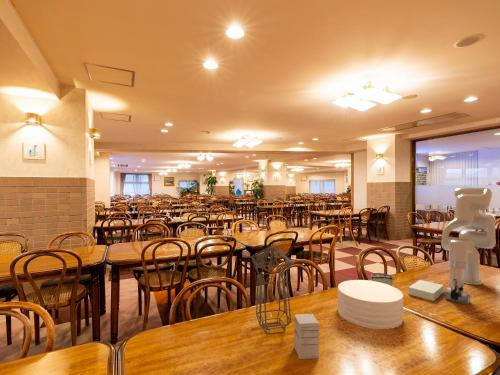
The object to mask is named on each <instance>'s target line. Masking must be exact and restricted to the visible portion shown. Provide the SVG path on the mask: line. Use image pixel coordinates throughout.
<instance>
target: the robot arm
mask: <svg viewBox="0 0 500 375" xmlns="http://www.w3.org/2000/svg"><path fill="white" fill-rule="evenodd" d="M492 196H493V192H492V190H491V189H490V188H488V187H464V186H463V187H458V188H456V189H454V197H455V198H456V199H455V205H454V206H455V207H454V216H453V219H452V220H451V221H450V222H448V224H446V226H445V227H444V228H443V230H442V234H441V235H442V236H441V247H442V249H443V250H445V251H448V267H449V274H448V276H449V277H448V286H449V287H450V288H451V299H454V300H458V297H459V292H458V290H461V291H464V284H467V285H474V286H480V285H481V286H482V285H483V283H484V282H483V281H482V280H481V279H480V266H481V265H480V262H481V261H480V257H481V255H480V253H479V250H478V249H477V248H482V249H489V250H490V249H494V247H495V246H496V219H495V218H494V216H493V215H490V214H481V213H480V211H487V210H488V209H489V207H490V204H491V201H492V198H493V197H492ZM461 227H462V228H463V229H468V230H462V231H460V232H459V234H458V237H453V236H450V233H451V232H452V231H453V230H455V229H458V228H461Z"/></svg>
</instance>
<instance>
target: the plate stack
mask: <svg viewBox="0 0 500 375" xmlns="http://www.w3.org/2000/svg"><path fill="white" fill-rule="evenodd" d="M337 313H338V314H339V315H340V317H341V318H342V319H344V320H345V321H347V322H349V323H352V324H354V325H357V326H360V327H364V328H367V329H368V328H369V329H373V330H390V328H391V329H395V327H396V328H398V327H400V326H401V325H402V324H403V322H404V317H403V316H404V295H403V292H402V291H401V290H400V289H399V288H396V286H395V287H394V286H393V285H392V286H390V285H387V284H384V283H380V282H375V281H372V280H367V279H348V280H344V281H342V282H340V283H339V284H338V286H337ZM399 325H400V326H399Z"/></svg>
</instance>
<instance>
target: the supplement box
mask: <svg viewBox="0 0 500 375" xmlns="http://www.w3.org/2000/svg"><path fill="white" fill-rule="evenodd" d="M293 317H294V318H293V321H294V322H293V327H294V329H293V331H294V332H293V348H294V349H295V351H296V355H297V356H298V359H299V360H307V359H318V358H320V322H319V321H318V319H317V317H316V316H315V315H314V314H313V313H302V314H301V313H298V314H294V316H293Z"/></svg>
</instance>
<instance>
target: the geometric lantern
mask: <svg viewBox="0 0 500 375" xmlns="http://www.w3.org/2000/svg"><path fill="white" fill-rule="evenodd" d="M275 252H276V253H275ZM269 254H270V255H269ZM279 257H282V258H283V259H284V261H285V263H284V264H283V263H282V264H279V262H278V260H277V259H278V258H279ZM250 258H251V261H252V264H253V265H254V266H253V267H254V269H255V270H256V273H257V275H256V276H257V277H256V278H257V279H256V301H255V302H256V303H255V304H256V306H255V316H256V318H257V319H256V320H257V321H258V324H259V326H260V327H261V328H263V330H264V332H265V334H267V335H274V334H282V333H286V330H287V329H286V327H287V326H290V324H291V323H292V316H291V314H292V313H291V304H290V292H289V291H290V290H289V279H288V278H289V271H287V274H286V275H287V276H285V275H284V273H285V270H286V268H287V269H289V268H290V267H291V266H292V265H293V264H295V261H294V260H292V259H291V258H290V257H288V256H287V255H286V254H285V253H284V252H282V251H281V250H279V249H278V248H276V247H275V246H274V245H273V246H272V245H271V246H268V247H266V248H264V249H261V250H260V251H258V252H257V253H255V254H253V255H251V256H250ZM267 258H268V259H269V258H270V260H269V261H268V260H267ZM261 262H262V263H261ZM274 262H275V263H276V264H274ZM260 264H261V265H260ZM258 267H260V268H261V271H260V272H259V270H258V269H259V268H258ZM265 267H270V270H269V269H267V268H265ZM279 267H282V268H281V269H279ZM272 268H275V269H276V271H272ZM264 270H265V271H266V272H268V273H263V272H264ZM281 271H282V272H281ZM273 274H278V281H272V282H267V281H268V279H269V278H270V277H271V276H272V275H273ZM263 275H269V276H267V278H266V280H265V281H263V282H262V279H263V278H262V276H263ZM268 284H278V309H272V310H271V309H270V310H267V304H266V285H268ZM281 284H282V298H283V309H284V310H283V309H281ZM262 285H263V286H262ZM262 289H263V290H262ZM262 292H263V293H262ZM262 294H263V296H262ZM262 297H263V298H264V299H263V298H262ZM262 299H263V300H264V302H263V303H264V304H263V305H264V310H262ZM258 303H259V304H258ZM287 304H288V306H287ZM258 305H259V307H258ZM258 308H259V309H258ZM258 310H259V311H258ZM269 312H270V313H271V312H278V313H277V317H272V318H267V313H269ZM280 312H283V313H281V316H280ZM288 312H289V314H288ZM262 313H264V317H263V316H262ZM284 314H285V317H286V323H285V322H283V321H282V317H283V315H284ZM279 316H280V317H279ZM269 320H276V321H275V322H267V321H269ZM264 322H265V323H264ZM270 324H271V325H270ZM272 324H273V325H272ZM271 327H272V328H271ZM277 329H283V331H276V332H270V330H271V331H272V330H277Z"/></svg>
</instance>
